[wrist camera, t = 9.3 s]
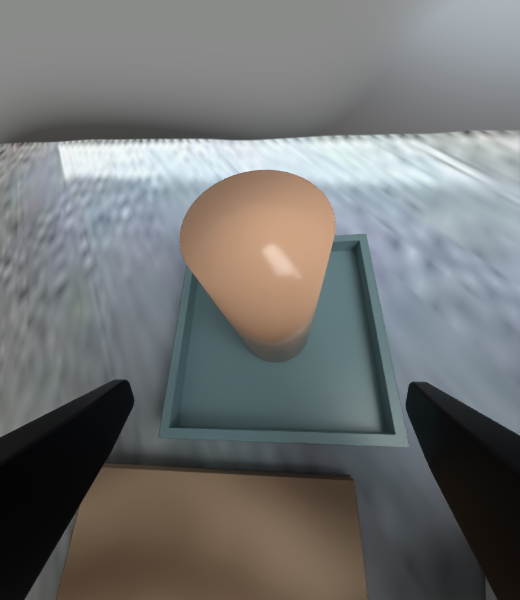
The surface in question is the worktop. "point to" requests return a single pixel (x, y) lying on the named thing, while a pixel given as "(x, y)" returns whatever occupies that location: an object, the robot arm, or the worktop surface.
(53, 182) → the worktop surface
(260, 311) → the tan glossy round part
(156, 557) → the tan board
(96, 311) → the worktop surface
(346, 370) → the tray
